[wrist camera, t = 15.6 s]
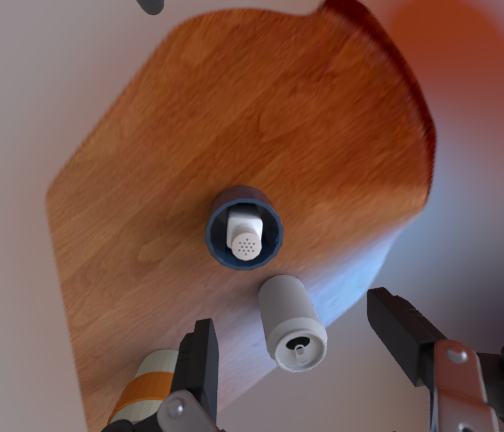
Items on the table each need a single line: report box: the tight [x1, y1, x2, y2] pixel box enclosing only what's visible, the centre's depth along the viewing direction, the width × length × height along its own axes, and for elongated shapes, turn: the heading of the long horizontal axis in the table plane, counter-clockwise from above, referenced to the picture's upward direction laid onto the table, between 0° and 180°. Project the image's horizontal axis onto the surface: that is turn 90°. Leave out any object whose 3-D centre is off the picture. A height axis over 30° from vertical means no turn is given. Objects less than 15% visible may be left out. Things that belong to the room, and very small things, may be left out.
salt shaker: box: [227, 204, 262, 260], centre depth 32 cm, size 4×4×10 cm
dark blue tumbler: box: [206, 186, 284, 270], centre depth 33 cm, size 9×9×7 cm
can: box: [258, 275, 327, 373], centre depth 36 cm, size 8×8×12 cm
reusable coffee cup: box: [107, 349, 179, 425], centre depth 37 cm, size 13×13×15 cm
